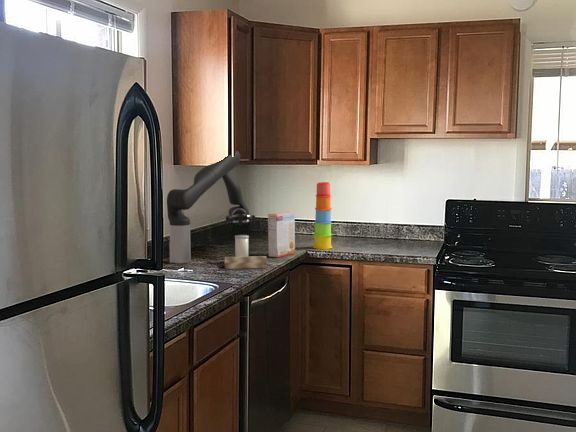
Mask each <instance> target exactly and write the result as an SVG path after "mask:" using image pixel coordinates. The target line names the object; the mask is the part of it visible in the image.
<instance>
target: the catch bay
mask: <svg viewBox="0 0 576 432" xmlns="http://www.w3.org/2000/svg"><path fill="white" fill-rule="evenodd" d="M267 259H268V258H267V255H266V256H265V255H264V256H263V255H258V256H248V257H235V256H224V269H225V270H226V269H227V270H230V269H231V270H232V269H233V270H234V269H240V270H241V269H267V268H268V267H267V265H268V264H267V262H268V261H267Z"/></svg>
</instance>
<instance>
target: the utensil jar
mask: <svg viewBox="0 0 576 432" xmlns="http://www.w3.org/2000/svg"><path fill="white" fill-rule="evenodd" d="M249 238H250V236H249V235H247V234H238V235H237V234H236V235H234V240H235V241H234V242H235V244H234V249H235V253H234V255H235V256H234V257H249Z"/></svg>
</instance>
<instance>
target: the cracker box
mask: <svg viewBox="0 0 576 432" xmlns="http://www.w3.org/2000/svg"><path fill="white" fill-rule="evenodd" d="M295 218H296V216H295V212H294V211H292V212H291V211H283V212H274V213H268V214H267V234H268V239H267V240H268V241H267V242H268V244H267V245H268V257H269V258H281V257H286V256H291V255H295V254H296V243H295V242H296V239H295V238H296V235H295V234H296V227H295V225H296V224H295V223H296V222H295V221H296V220H295Z"/></svg>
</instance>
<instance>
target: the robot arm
mask: <svg viewBox="0 0 576 432" xmlns="http://www.w3.org/2000/svg"><path fill="white" fill-rule="evenodd" d="M240 161H241V153H240V152H239V151H238V150H237V151H236V153H235V156H234V157H232V156H231V155H228V156H227V157H225V158H224V159H223V160H221V161H219V162H214V163H211V164H209V165H206V166H204V167H203V168H201V169H200V170H199V171H198V172H197V173H196V174H195V175H194V177H193V178H194V179H193V184H192V185H191V186H189V187H188V188H185V189H181V188H180V189H179V188H175V189H174V188H173V189H171V190H169V191H168V193H167V196H166V209H167V218H168V221H169V222H168V223H169V245H168V246H169V263H170V264H188V263H191V262H192V261H191V260H192V259H191V258H192V256H191V219H190V217H188V216H186V215H185V214H184V213H183V211H185V210H189V209H191V208H192V207H193V206H194V205H195V204H196V203H197V201H198V200H199V199H200V198H201V196H203V195H204V194H205V193H206V192H207V191H209V189H210V188H212V187H213V186H214V185H215V184H217V182H218V181H219V180H220V179H221V178H222V180H223V182H224V185H225V188H226V193H227V197H228V202H229V204H230V205H233V206H234V205H235V206H234V207H231V208H229V209H228V215H226V216H225V223H232V224H233V223H234V224H236V225H238V226H240V225H244V224H247V223H251V222H256V215H255V214H251V215H250V210H249V208H248V206H247V205H246V203H245V201H244V199H243V198H244V197H243V194H242V189H241V187H240V184H239V183H238V181H237V180H236V179H235V177H234V176H233V175H232V173H231V171H232V170H234V169H235V168H236V167H237V166H238V164H240Z"/></svg>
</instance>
